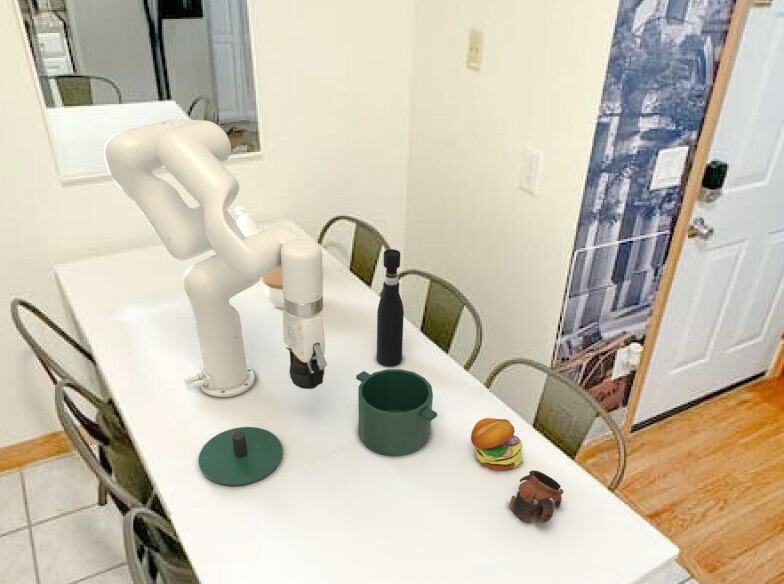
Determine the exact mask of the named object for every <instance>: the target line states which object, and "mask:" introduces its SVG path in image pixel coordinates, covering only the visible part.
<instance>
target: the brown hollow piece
mask: <svg viewBox="0 0 784 584" xmlns="http://www.w3.org/2000/svg"><path fill="white" fill-rule="evenodd" d="M528 473H529V474H528V475H525V476H523V477H521V478H520V479H519V480H518V481H519V483H520V484H519V485H518V491H517V493H516V496H515V495H512V496H511V498H510V503H509V508H510V510H511V512H512V513H513V514H514V515H515V516H516V517H517V518H518V519H519V520H521V521H522V522H524V523H527V524H528V523H529V522H530V520H531V519H532V520H533V521H534V522H535V523H540V524H545V523H548V522H549V521H550V520H551V519H552V517H553V515H554V505H555V506H556V507H557V508H560V506H561V503H562V499H563V498H562V495H563V494H564V489H563V488H561V484H560V483H559V482H557V480H555V479H554V478H552V477H551V476H549V475H547V474H545V473H544V472H541V471H539V470H535V469H534V470H532V469H531V470H530V471H529V472H528ZM535 501H537V502H536V504H535Z"/></svg>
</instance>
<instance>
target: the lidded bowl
mask: <svg viewBox="0 0 784 584" xmlns="http://www.w3.org/2000/svg"><path fill="white" fill-rule="evenodd" d="M261 281H262V286H263V291H264V294H265V297H266V298H267V299H268V300H269V301H270V303H272V304H273V305H274V306H275V307H276V308H278V309H282V310H284V299H283V283H282V268H279V269H276V270H274V271H272V272H271V273H269V274H267V275H265V276H263V277H261Z"/></svg>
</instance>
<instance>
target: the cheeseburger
mask: <svg viewBox="0 0 784 584" xmlns="http://www.w3.org/2000/svg"><path fill="white" fill-rule="evenodd" d="M515 431H516V430H515V427H514V424H512V423H511V421H510V420H508V419H507V418H495V417H485V418H482V419H480V420H478V421H477V422H476V423H475V424H474V427H473V428H472V430H471V432H470V433H471V434H470V440H471V441H470V442H471V443H472V445H473V446H474V448H475V449H474V454H475V457H476V458H477V460H478V461H479V462H480V463H481V465H482V466H484V467H486V468H487V469H490V470H496V471H505V470H511V469H515V468H517V467H518V466H519V465H521V464H522V461H523V456H522V455H523V454H522V453H523V452H522V449H523V442H522V440H521V439H520V437H518V436H517V435H515Z"/></svg>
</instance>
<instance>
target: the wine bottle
mask: <svg viewBox="0 0 784 584" xmlns="http://www.w3.org/2000/svg"><path fill="white" fill-rule="evenodd" d="M382 264H383V267H384V268H385V274H384V277H383V278H384V280H383V282H382V283H383V284H382V285H383V286H382V290H383V291H382V294H381V296H380V299H379V302H378V306H377V313H376V314H377V315H376V361H377V363H378V364H379V365H381V366H383V367H388V368H389V367H396V366H399V365H400V364H401V363H402V361H403V342H404V341H403V340H404V339H403V338H404V315H405V313H404V312H405V311H404V304H403V300H402V297H401V294H400V282H399V279H400V277H399V275H398V269H399V268H400V267H401V252H400V250H397V249H394V248H392V249H386V250H384V251H383V263H382Z"/></svg>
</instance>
